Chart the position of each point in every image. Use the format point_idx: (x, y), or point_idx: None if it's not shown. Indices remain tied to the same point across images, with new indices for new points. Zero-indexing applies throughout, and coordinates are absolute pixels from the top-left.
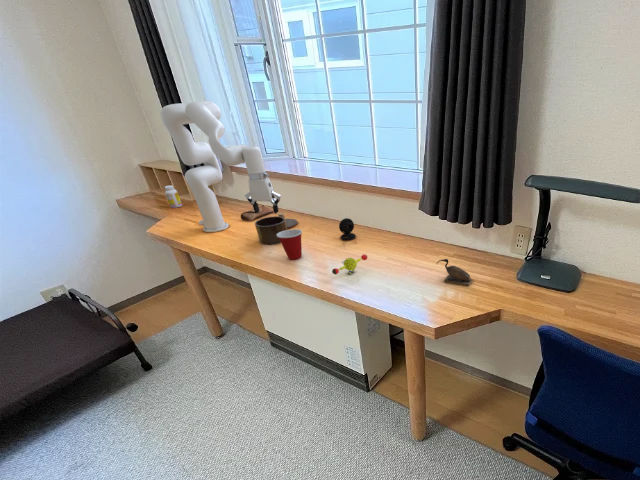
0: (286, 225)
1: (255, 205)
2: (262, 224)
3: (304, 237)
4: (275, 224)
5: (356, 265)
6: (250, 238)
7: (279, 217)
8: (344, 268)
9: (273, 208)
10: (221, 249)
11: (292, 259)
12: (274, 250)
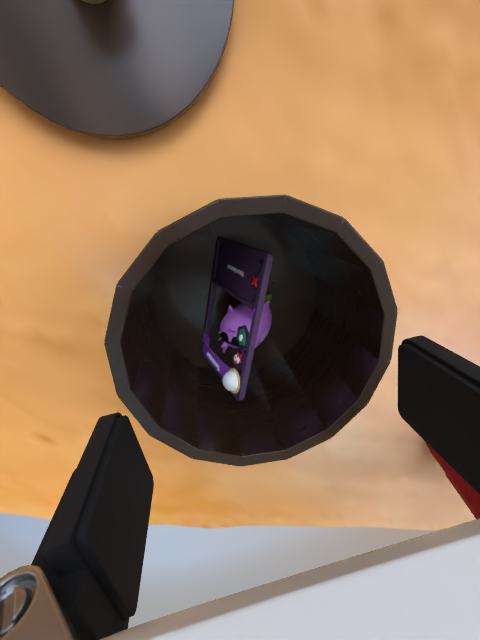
0: (167, 30)
1: (126, 586)
2: (133, 316)
3: (409, 214)
4: (261, 286)
5: None
6: (60, 330)
7: (283, 214)
8: None
9: (465, 470)
10: (40, 485)
11: None
12: None
